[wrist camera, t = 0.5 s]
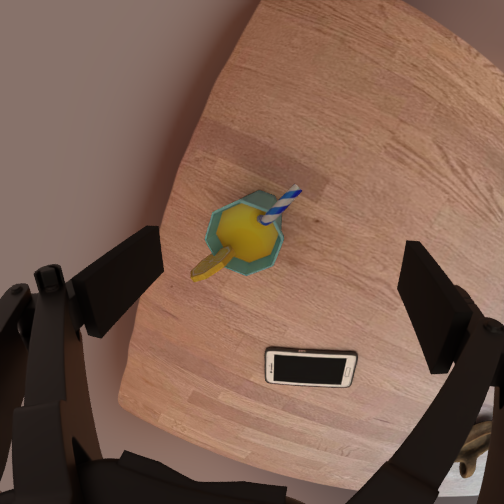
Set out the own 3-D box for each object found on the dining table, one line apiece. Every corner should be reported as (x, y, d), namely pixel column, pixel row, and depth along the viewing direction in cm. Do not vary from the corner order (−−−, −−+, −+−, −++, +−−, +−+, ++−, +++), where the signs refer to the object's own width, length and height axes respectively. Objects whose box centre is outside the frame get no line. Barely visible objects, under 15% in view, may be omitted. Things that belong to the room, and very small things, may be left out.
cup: (279, 143, 35) (259, 153, 22) (327, 187, 36) (335, 224, 23) (209, 223, 41) (158, 273, 27) (252, 261, 42) (222, 327, 28)
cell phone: (350, 384, 47) (350, 388, 46) (265, 379, 50) (264, 383, 49) (358, 350, 44) (359, 354, 43) (265, 345, 47) (264, 349, 46)
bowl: (504, 405, 44) (517, 437, 35) (478, 446, 51) (486, 474, 42) (457, 418, 47) (467, 453, 38) (434, 456, 54) (440, 487, 45)
